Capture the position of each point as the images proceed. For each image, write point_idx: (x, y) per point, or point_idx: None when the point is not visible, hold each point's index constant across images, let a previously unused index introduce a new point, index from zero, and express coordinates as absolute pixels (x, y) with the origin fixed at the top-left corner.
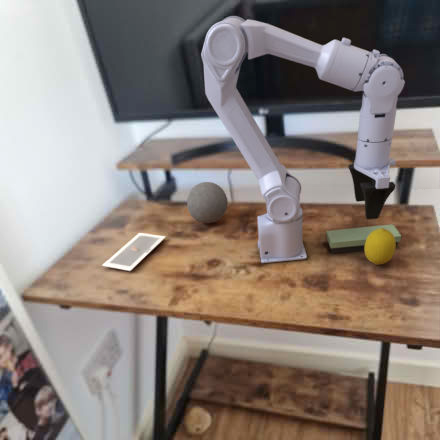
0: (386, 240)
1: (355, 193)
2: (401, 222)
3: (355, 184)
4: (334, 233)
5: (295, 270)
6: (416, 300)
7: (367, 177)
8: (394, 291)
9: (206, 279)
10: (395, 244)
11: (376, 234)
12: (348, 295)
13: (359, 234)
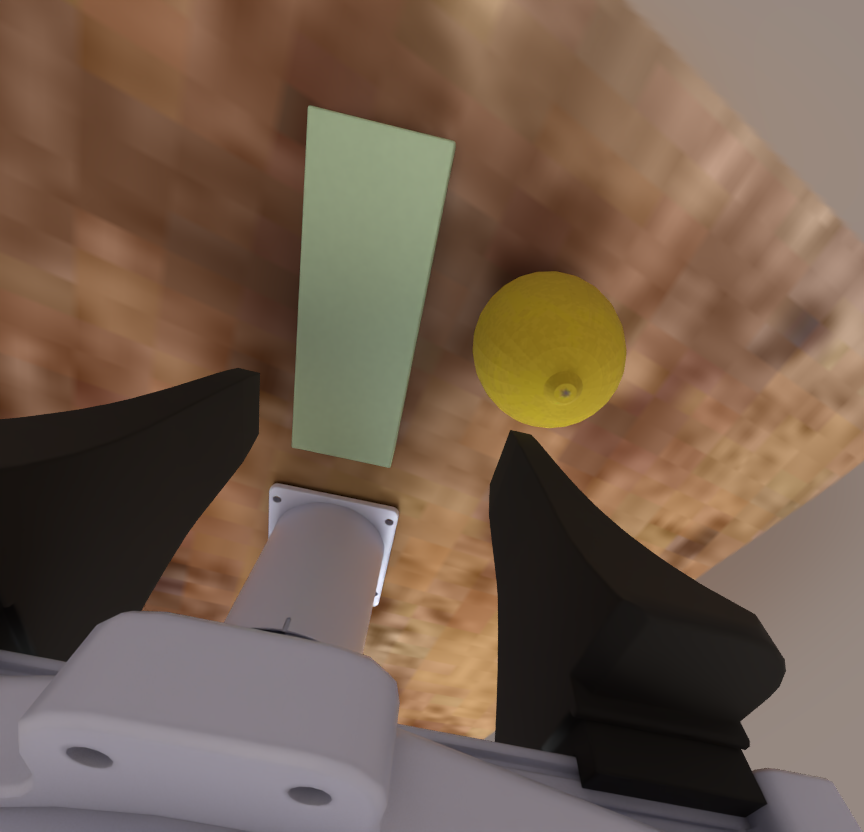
0: (617, 380)
1: (226, 480)
2: None
3: (181, 535)
4: (322, 430)
5: (443, 547)
6: (809, 307)
7: (132, 498)
8: (712, 349)
9: (401, 690)
10: (602, 297)
11: (566, 419)
12: (635, 481)
13: (364, 344)
